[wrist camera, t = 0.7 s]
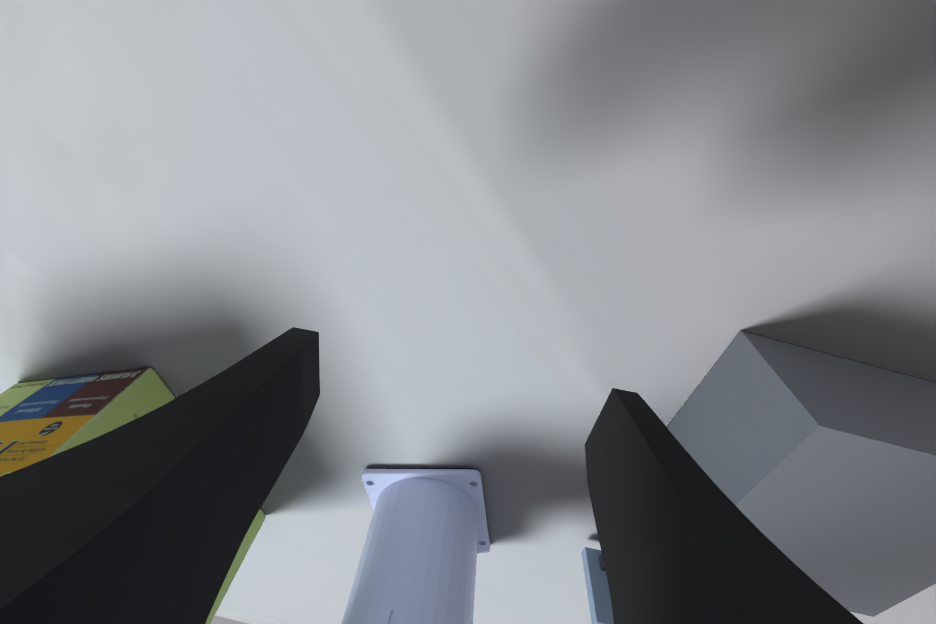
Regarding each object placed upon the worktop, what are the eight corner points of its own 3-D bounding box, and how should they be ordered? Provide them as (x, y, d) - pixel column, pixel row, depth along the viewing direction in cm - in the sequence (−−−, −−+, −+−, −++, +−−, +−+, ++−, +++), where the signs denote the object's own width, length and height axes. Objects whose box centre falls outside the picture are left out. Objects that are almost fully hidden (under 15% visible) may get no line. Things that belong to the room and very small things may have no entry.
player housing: (804, 509, 27) (873, 616, 22) (634, 468, 26) (666, 570, 21) (953, 387, 21) (1097, 496, 16) (740, 330, 20) (819, 426, 15)
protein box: (151, 361, 24) (-259, 723, 11) (269, 515, 32) (108, 833, 19) (12, 380, 26) (-480, 710, 13) (155, 521, 34) (-62, 815, 21)
